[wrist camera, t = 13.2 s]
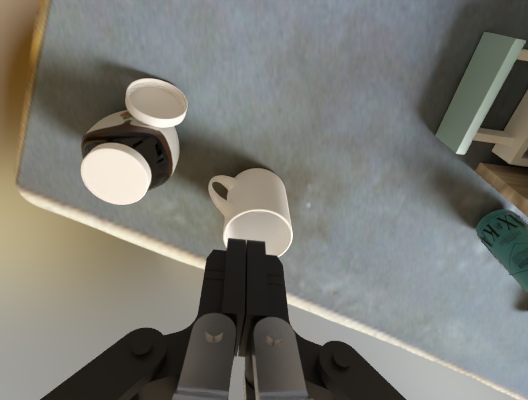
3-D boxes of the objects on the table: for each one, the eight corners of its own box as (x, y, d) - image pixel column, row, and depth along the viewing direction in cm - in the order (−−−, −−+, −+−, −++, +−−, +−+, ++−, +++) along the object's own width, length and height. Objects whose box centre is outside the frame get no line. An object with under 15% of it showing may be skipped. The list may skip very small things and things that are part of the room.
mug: (230, 141, 45) (225, 181, 36) (296, 186, 49) (307, 231, 40) (197, 184, 49) (185, 230, 40) (261, 223, 53) (264, 272, 44)
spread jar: (115, 162, 46) (79, 210, 37) (88, 78, 40) (35, 110, 30) (201, 157, 46) (188, 204, 37) (187, 73, 40) (167, 103, 30)
